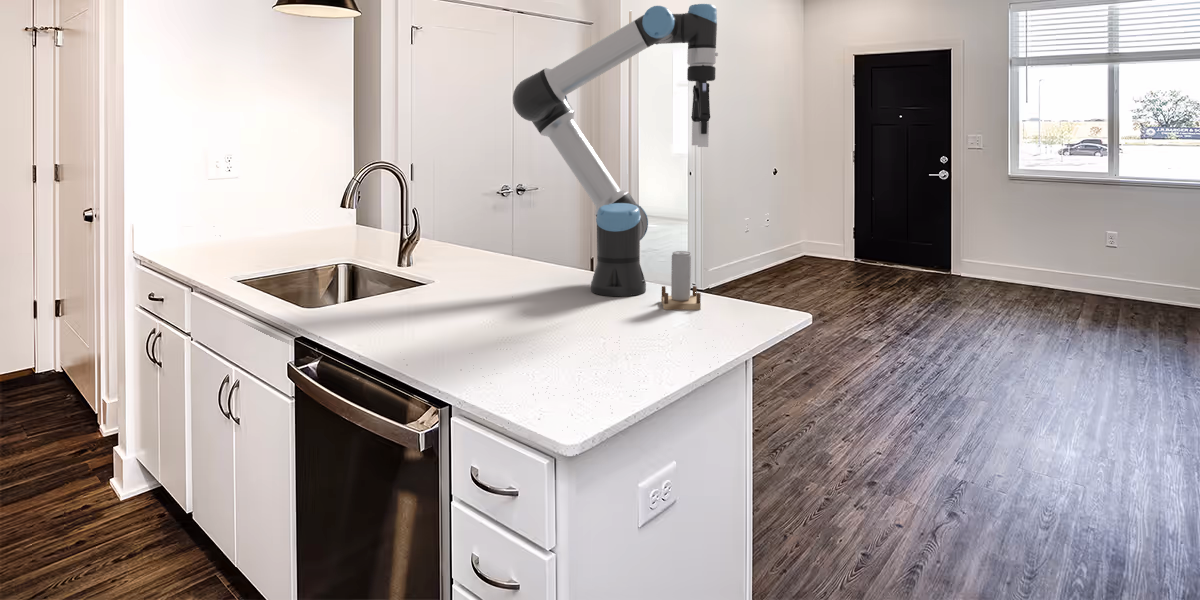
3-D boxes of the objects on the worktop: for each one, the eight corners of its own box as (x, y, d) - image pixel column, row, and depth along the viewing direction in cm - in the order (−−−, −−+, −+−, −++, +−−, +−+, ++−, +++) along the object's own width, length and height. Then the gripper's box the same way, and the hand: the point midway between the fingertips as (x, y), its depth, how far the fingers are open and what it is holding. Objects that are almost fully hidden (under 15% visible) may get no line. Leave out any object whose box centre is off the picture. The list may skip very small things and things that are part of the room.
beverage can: (675, 302, 190) (676, 254, 188) (668, 298, 195) (669, 251, 192) (693, 300, 192) (694, 253, 189) (685, 296, 196) (686, 250, 193)
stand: (664, 309, 189) (664, 293, 188) (661, 301, 198) (661, 286, 197) (700, 309, 189) (700, 293, 188) (696, 301, 198) (696, 286, 197)
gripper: (722, 62, 194) (720, 147, 199) (709, 68, 218) (707, 144, 223) (693, 62, 194) (691, 147, 199) (682, 68, 218) (681, 144, 223)
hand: (699, 146), depth 211 cm, fingers open, 13 cm apart
